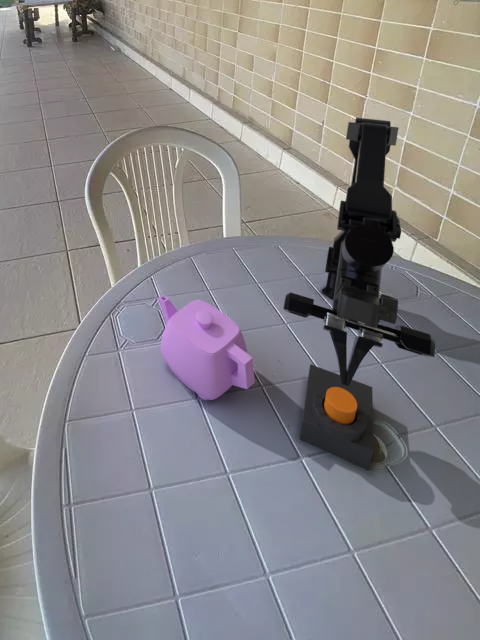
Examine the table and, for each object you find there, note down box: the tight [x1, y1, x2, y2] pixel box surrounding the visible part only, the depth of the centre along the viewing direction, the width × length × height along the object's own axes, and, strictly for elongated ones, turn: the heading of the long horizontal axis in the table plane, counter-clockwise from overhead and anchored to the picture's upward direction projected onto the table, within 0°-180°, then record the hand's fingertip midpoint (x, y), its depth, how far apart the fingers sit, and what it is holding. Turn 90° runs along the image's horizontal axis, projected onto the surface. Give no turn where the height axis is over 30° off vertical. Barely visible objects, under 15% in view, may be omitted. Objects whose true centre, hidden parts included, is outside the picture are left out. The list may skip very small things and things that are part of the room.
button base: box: [299, 364, 374, 471], centre depth 66 cm, size 11×9×6 cm
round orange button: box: [324, 387, 357, 425], centre depth 63 cm, size 4×4×3 cm
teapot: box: [158, 294, 256, 401], centre depth 75 cm, size 20×12×13 cm, turn 37°
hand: (344, 385), depth 61 cm, fingers closed
